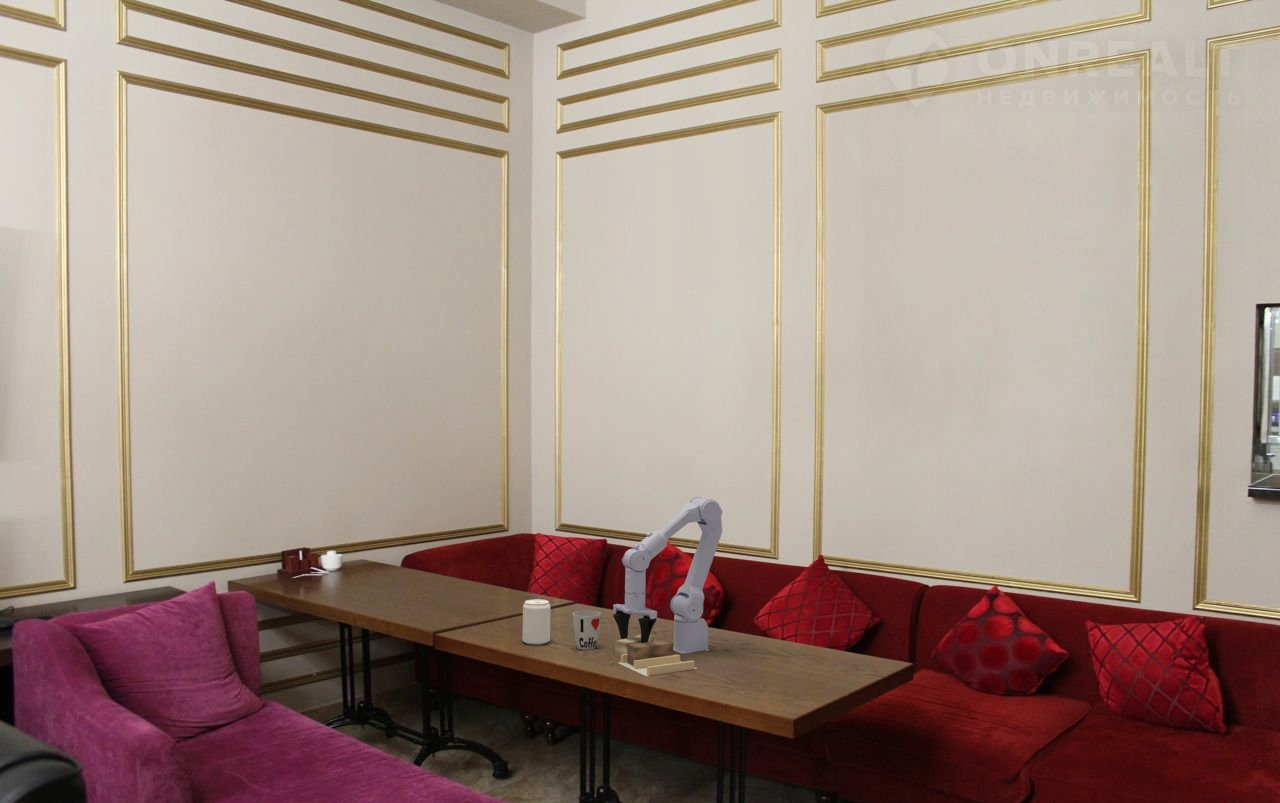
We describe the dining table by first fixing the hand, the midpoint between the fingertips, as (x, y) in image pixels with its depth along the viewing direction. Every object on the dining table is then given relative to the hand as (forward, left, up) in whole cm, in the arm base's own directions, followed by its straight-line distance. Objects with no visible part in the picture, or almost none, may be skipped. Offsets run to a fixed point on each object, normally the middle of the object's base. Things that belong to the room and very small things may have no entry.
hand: (634, 640), depth 274 cm
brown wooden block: (+1, +11, -4) cm, 11 cm away
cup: (+8, -14, -4) cm, 17 cm away
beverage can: (+18, -27, -4) cm, 33 cm away
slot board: (+1, +14, -4) cm, 15 cm away
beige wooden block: (0, 0, -4) cm, 4 cm away
